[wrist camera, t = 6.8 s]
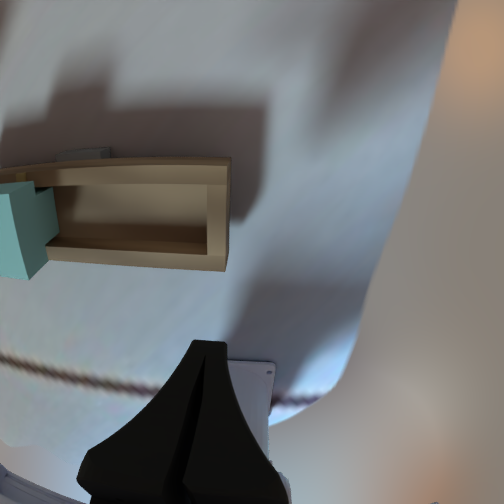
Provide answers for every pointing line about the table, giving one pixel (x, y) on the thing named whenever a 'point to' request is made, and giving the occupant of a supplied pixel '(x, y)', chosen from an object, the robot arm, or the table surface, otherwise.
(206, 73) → the table surface
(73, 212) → the wooden tray
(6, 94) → the table surface
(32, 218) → the block
